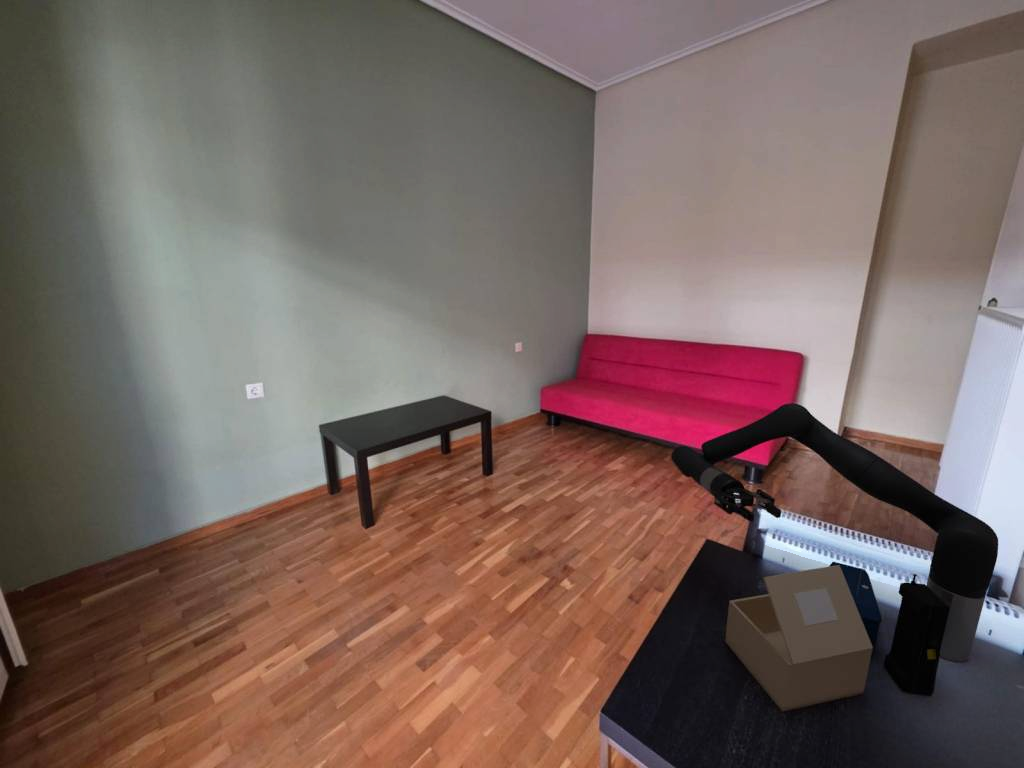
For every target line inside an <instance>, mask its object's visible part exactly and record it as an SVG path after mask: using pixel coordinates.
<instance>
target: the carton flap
mask: <svg viewBox="0 0 1024 768" xmlns="http://www.w3.org/2000/svg"><path fill="white" fill-rule="evenodd" d="M762 578H763V581H764V585H765V588H766V590H767V594H769V597H770V600H771V603H772V606H773V609H774V612H775V615H776V618H777V621H778V624H779V627H780V630H781V633H782V636H783V639H784V642H785V645H786V648H787V651H788V654H789V657H790V660H791V663H792V664H797V663H802V662H807V661H811V660H816V659H821V658H826V657H831V656H836V655H841V654H845V653H850V652H855V651H860V650H865V649H870V648H873V647H872V644H871V642H870V639H869V637H868V634H867V632H866V629H865V627H864V624H863V622H862V619H861V617H860V614H859V612H858V609H857V607H856V605H855V602H854V600H853V597H852V595H851V592H850V590H849V587H848V585H847V582H846V580H845V577H844V575H843V572H842V570H841V567H840V565H835V566H830V565H829V566H823V567H818V568H811V569H806V570H801V571H793V572H787V573H782V574H777V575H769V576H764V577H762Z"/></svg>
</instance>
